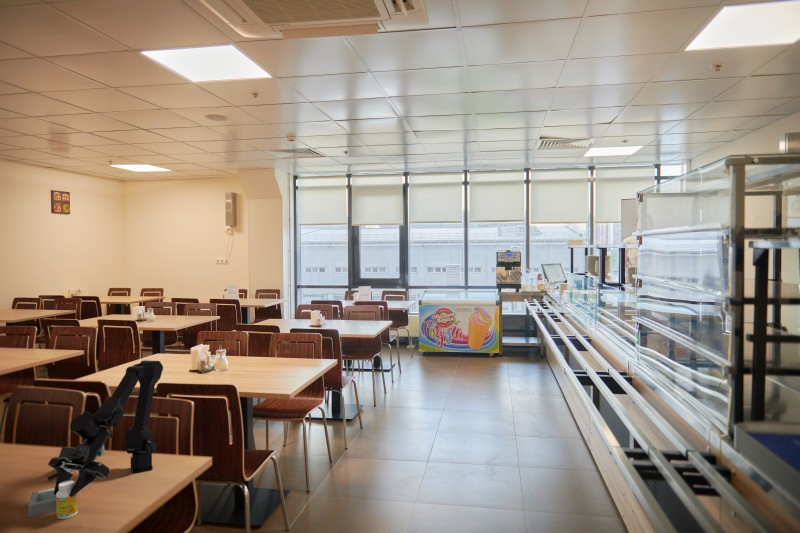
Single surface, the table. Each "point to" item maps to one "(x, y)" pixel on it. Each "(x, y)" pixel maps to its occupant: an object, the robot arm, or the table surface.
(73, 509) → the supplement bottle
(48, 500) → the dock
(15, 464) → the table surface
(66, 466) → the robot arm
